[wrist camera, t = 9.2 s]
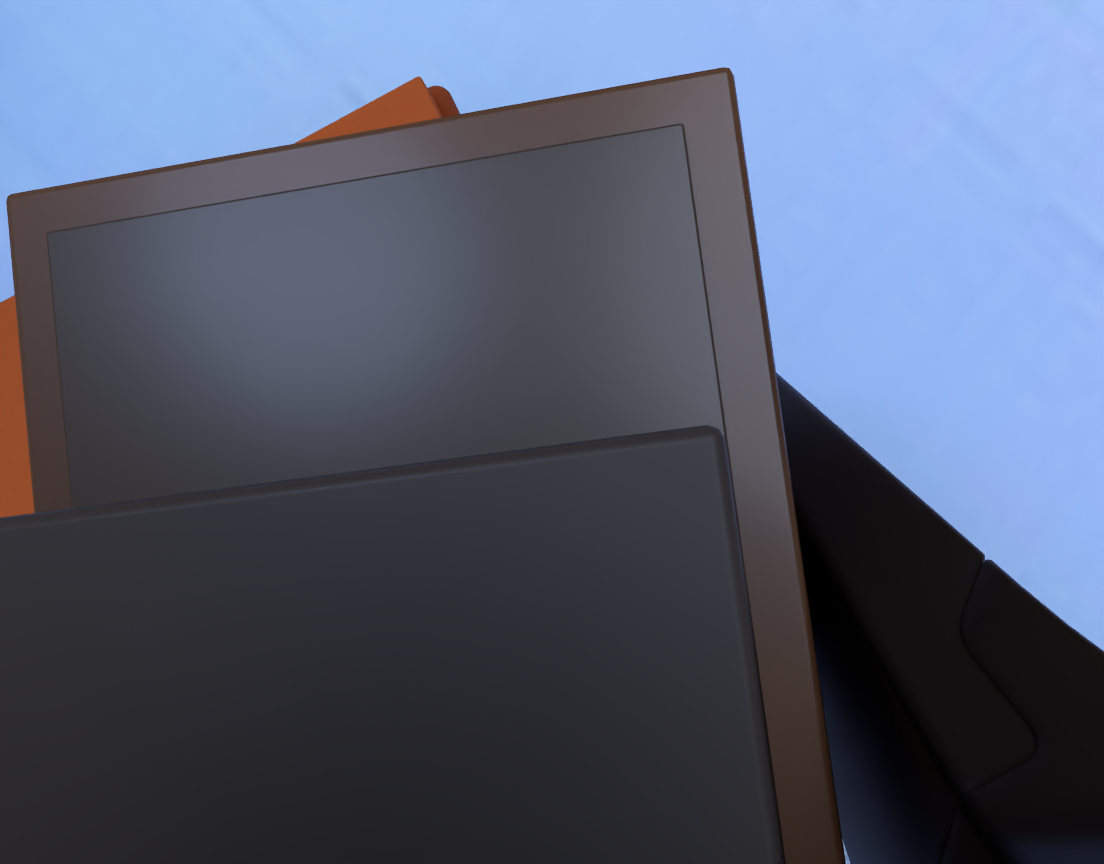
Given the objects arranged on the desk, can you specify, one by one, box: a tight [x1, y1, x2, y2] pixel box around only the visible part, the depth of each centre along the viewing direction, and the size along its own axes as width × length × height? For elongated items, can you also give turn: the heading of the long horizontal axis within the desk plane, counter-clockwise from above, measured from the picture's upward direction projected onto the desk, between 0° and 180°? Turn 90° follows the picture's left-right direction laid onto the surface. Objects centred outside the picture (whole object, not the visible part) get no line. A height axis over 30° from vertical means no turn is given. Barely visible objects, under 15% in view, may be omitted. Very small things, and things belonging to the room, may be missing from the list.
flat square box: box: [0, 77, 460, 518], centre depth 22 cm, size 17×17×3 cm
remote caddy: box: [0, 68, 846, 864], centre depth 10 cm, size 7×6×12 cm
